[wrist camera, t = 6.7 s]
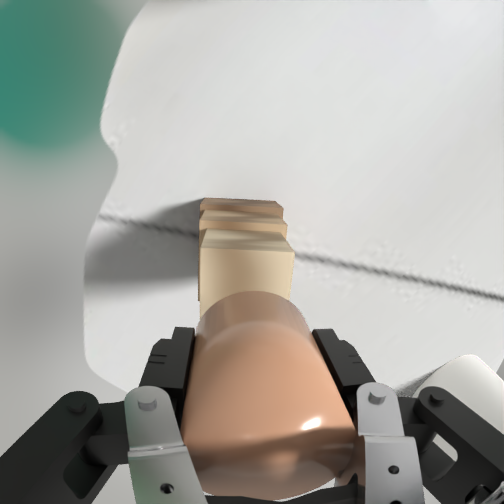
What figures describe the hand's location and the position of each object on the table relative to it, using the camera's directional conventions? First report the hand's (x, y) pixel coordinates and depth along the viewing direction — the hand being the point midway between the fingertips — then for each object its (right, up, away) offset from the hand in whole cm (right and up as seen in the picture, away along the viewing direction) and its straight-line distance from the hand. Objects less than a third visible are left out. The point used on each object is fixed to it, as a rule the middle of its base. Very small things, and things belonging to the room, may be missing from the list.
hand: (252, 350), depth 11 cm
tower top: (-1, +3, +10) cm, 11 cm away
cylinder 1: (0, 0, +1) cm, 1 cm away
